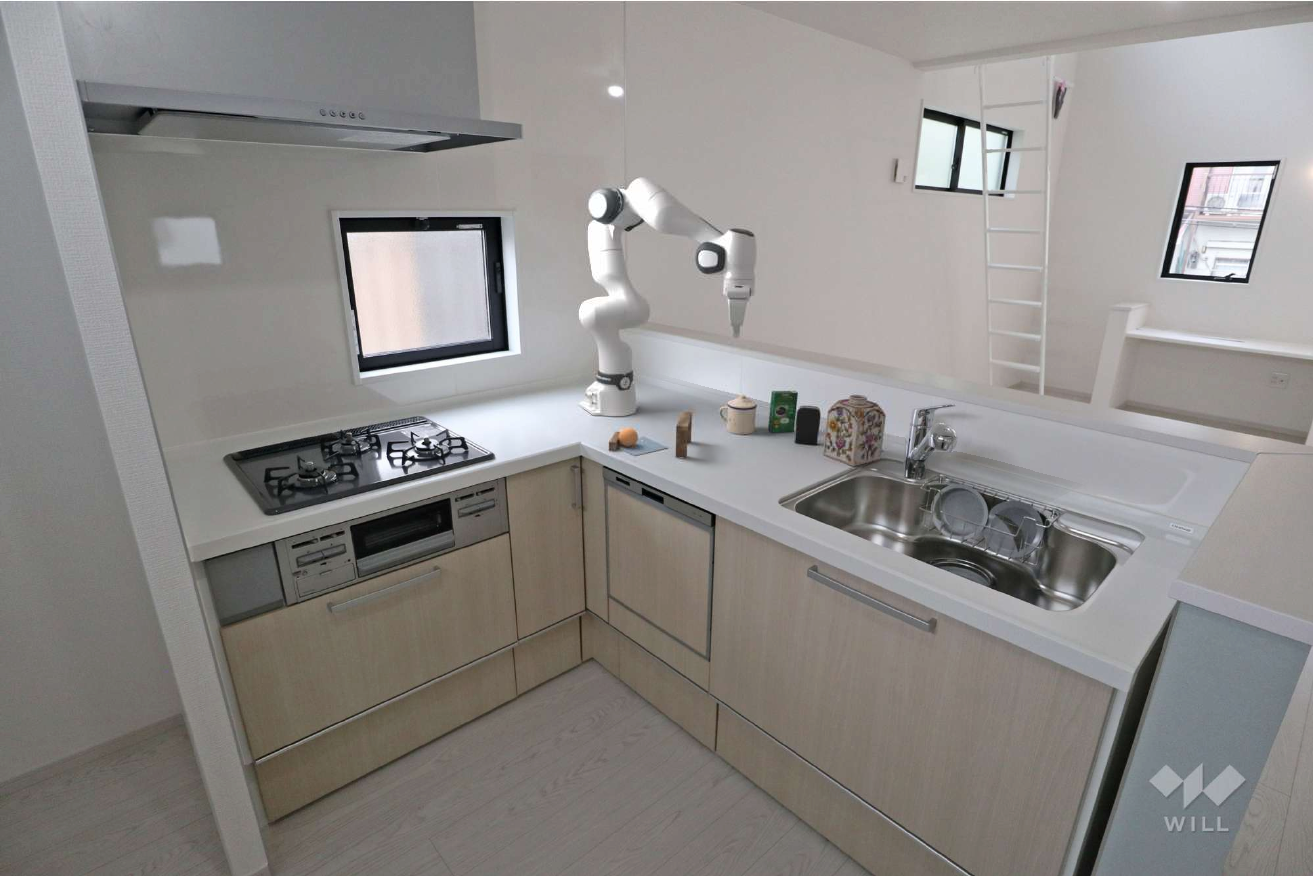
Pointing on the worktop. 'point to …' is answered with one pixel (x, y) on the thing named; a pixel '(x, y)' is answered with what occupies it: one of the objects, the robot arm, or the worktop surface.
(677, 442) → the bridge
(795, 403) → the coffee box
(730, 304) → the robot arm
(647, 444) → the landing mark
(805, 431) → the battery charger
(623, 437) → the ball
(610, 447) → the stopper
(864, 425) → the decorative jar
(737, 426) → the teacup with lid
